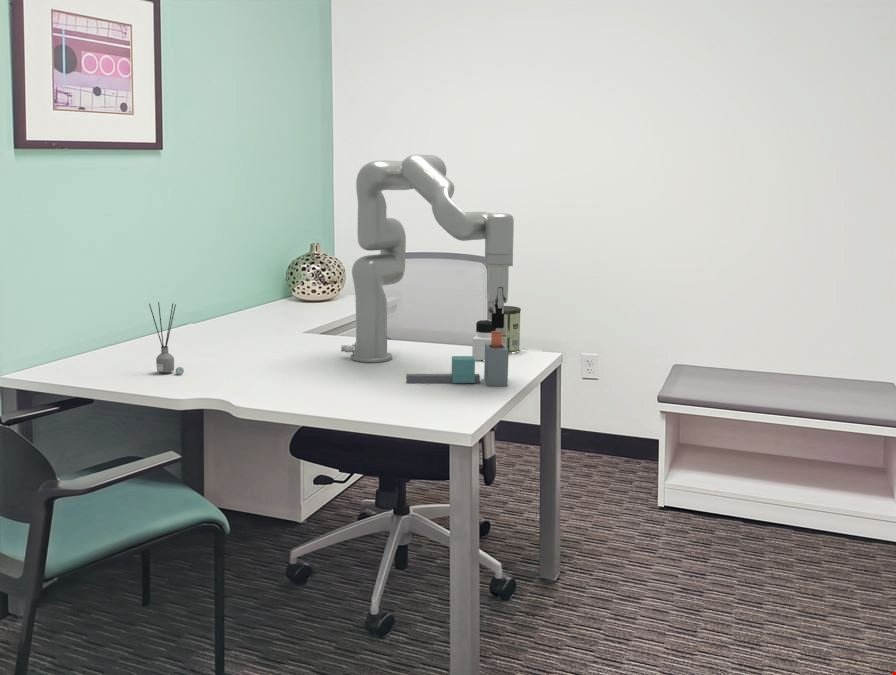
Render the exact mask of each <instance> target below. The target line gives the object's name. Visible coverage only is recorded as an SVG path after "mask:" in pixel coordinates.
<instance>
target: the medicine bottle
mask: <svg viewBox="0 0 896 675" xmlns="http://www.w3.org/2000/svg"><path fill="white" fill-rule="evenodd" d="M475 326H476V328H475V329H476V330H475V336H473V338H472V347H471V348H472V351H471V352H472V353H471V354H472V355H471V356H474V359H475V360H485V343H491V332H492V331H496V328H492V320H489V319H481V320H478V321H476V325H475Z"/></svg>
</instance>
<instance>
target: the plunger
mask: <svg viewBox="0 0 896 675" xmlns="http://www.w3.org/2000/svg"><path fill="white" fill-rule="evenodd" d="M491 348H502V332H501V331H492V332H491Z"/></svg>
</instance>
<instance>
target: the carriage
mask: <svg viewBox="0 0 896 675" xmlns="http://www.w3.org/2000/svg"><path fill="white" fill-rule="evenodd" d="M451 374H452V383H451V384H476V383H475V374H476V361H475V359H474V356H472V355H452V356H451Z"/></svg>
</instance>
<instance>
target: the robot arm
mask: <svg viewBox="0 0 896 675" xmlns="http://www.w3.org/2000/svg"><path fill="white" fill-rule="evenodd" d="M355 189H356V196H357V197H356V198H357V242H358V245H359V247H360V248H361V249H362V250H365V251H373V252H374V251H380V253H379V254H378V253H377V254H370V255H363V256H361V257H359V258H358V259H356V260H355V262H354V263H353V265H352V270H351V275H352V277H351V278H352V282H353V285H354V294H355V295H354V297H355V298H354V299H355V342H354V344H353V343H352V344H351V345H348V344H347V345H345V344H344V345H341V347H340V348H341V350H340V351H341V352H344V353H351V354H350V359H351V358H352V359H353V360H352V359H351V360H352V361H355V360H356V361H355V362H359V361H360V363H384V362H388V361H390V360H392V359H393V354H392V353H391V352H389V351H388V300H387V295H386V292H385V290H384V289H383V286H388V285H395V284H397V283H399V282H400V281H401V280H402V279H403V277H404V275H405V271H406V247H407V246H406V243H407V242H406V240H407V237H406V236H407V235H406V231H405V228H404V226H403V225H402V223H401V222H400V221H399V220H398V219H396V218H393V217H388V216H387V209H388V208H387V201H386V199H385V196H384V194H383V192H382V191H408V190H415V191H416V192H417V193H418V194H419V195H420V196H421V197H422V198H423V199H424V200H425V201H426V202H428V203H429V205H431V212H432V214H433V217H434V219H435V221H436V222H437V224H438V225H439V227H442V229H443V230H444V231H446V233H448V234H449V235H450V236H452V238H454V239H456V240H458V241H463V242H464V241H467V242H468V241H480V240H484V266H486V267H487V278H486V281H487V283H486V300H487V302H488V303H489V304H492V305H491V307H492V328H504V306H505V304H507V302H508V298H509V275H510V274H509V269H510V268H509V267H513V266H514V265H513V264H514V232H515V230H514V228H515V226H514V222H515V221H514V219H515V218H514V216H513V215H512V214H509V213H492V212H491V213H490V212H486V211H467V212H466V211H464V210H462V209H461V208H460V207H459V206H457V205H456V204H455V203H454V202H453V201H452V198H453V196H454V194H455V185H454V183H453V181H451V180H450V179H449V178H448V177H447V166H446V163H445V161H443V159H441V157H439V156H437V155H432V154H412V155H409V156H407V157H406V158H405V159H403V160H388V159H387V160H382V159H381V160H373V161H370V162H367V163H366V164H364V165H363V166H362V167H361V168H360V170H359V171H358V173H357V176H356V182H355Z"/></svg>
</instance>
